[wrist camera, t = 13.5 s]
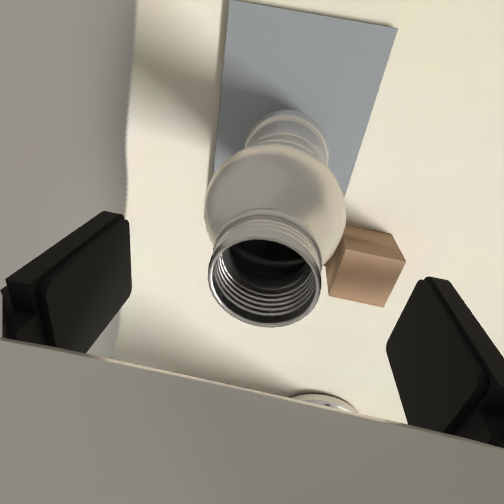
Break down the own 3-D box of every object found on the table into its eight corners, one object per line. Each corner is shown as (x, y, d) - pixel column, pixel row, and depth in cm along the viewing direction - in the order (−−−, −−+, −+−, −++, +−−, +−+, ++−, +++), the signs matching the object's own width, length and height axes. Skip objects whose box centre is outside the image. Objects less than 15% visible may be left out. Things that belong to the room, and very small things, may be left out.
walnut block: (373, 276, 33) (383, 307, 29) (325, 266, 34) (328, 295, 29) (391, 234, 31) (406, 261, 27) (339, 223, 31) (345, 248, 27)
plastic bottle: (294, 199, 30) (284, 383, 12) (233, 153, 28) (130, 290, 11) (344, 140, 27) (422, 279, 9) (279, 86, 25) (232, 134, 8)
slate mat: (327, 245, 32) (327, 248, 32) (210, 222, 33) (208, 224, 32) (395, 29, 23) (398, 28, 22) (231, 0, 23) (229, -1, 23)
